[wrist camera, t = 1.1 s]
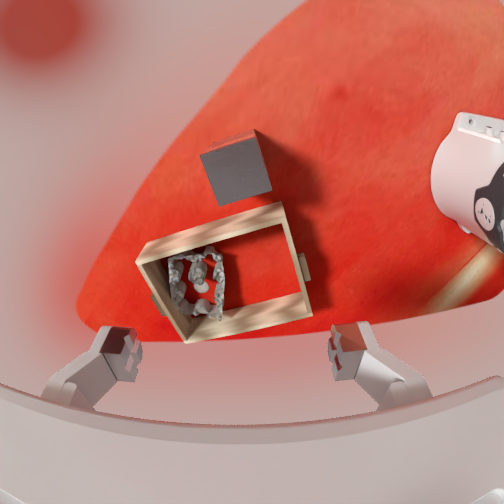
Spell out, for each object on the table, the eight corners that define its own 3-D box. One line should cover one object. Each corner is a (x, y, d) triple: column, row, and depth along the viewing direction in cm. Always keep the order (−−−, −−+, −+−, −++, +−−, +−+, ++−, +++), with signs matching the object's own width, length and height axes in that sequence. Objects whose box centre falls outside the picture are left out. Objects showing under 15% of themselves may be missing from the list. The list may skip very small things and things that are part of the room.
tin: (254, 127, 32) (255, 137, 24) (268, 168, 34) (272, 190, 27) (211, 141, 33) (199, 155, 25) (226, 181, 35) (219, 206, 28)
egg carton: (225, 306, 45) (223, 324, 41) (177, 302, 45) (171, 320, 41) (227, 244, 40) (224, 261, 36) (172, 241, 39) (164, 257, 36)
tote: (288, 198, 36) (293, 214, 32) (313, 291, 43) (319, 313, 39) (141, 244, 39) (129, 263, 35) (185, 322, 46) (180, 344, 42)
